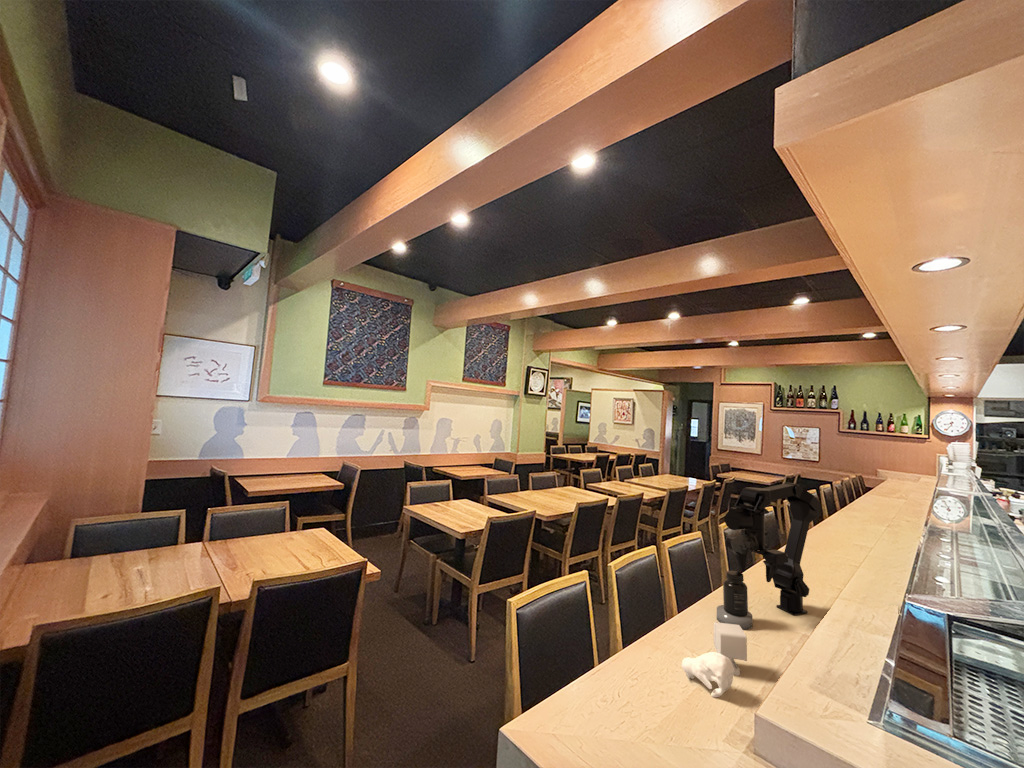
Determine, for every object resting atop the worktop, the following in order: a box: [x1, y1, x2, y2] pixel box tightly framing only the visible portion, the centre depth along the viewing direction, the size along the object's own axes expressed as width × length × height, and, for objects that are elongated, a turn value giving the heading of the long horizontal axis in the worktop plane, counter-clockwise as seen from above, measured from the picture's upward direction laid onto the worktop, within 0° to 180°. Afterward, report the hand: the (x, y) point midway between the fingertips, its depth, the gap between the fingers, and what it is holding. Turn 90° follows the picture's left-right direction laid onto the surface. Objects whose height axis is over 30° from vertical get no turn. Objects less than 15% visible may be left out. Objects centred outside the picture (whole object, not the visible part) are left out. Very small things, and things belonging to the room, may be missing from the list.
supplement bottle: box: [722, 570, 749, 617], centre depth 133 cm, size 7×7×12 cm
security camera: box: [713, 621, 748, 677], centre depth 108 cm, size 6×7×10 cm
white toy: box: [681, 651, 735, 699], centre depth 101 cm, size 6×8×12 cm
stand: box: [716, 604, 753, 631], centre depth 133 cm, size 10×10×3 cm
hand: (755, 576), depth 137 cm, fingers open, 9 cm apart
